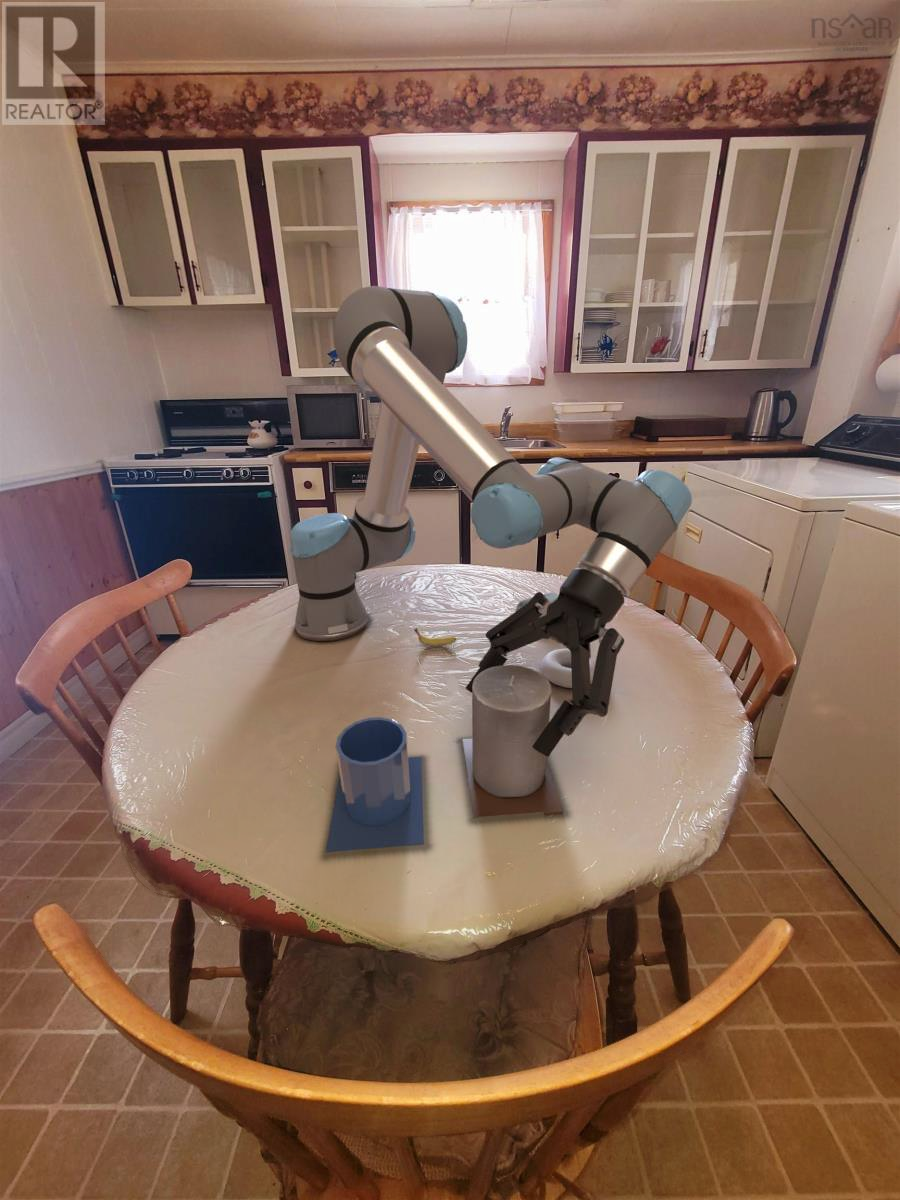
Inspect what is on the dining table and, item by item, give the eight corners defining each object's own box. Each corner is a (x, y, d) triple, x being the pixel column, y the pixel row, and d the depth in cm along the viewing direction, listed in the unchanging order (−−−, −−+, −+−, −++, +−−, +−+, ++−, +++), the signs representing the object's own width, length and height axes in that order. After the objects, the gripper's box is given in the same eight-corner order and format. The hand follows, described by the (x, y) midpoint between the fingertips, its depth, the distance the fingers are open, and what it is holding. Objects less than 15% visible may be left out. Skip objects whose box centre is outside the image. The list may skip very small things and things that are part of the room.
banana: (414, 648, 95) (413, 630, 94) (415, 644, 97) (414, 626, 95) (456, 648, 95) (455, 630, 93) (456, 644, 97) (456, 626, 95)
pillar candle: (502, 736, 71) (504, 647, 64) (560, 769, 64) (568, 675, 58) (456, 773, 64) (454, 678, 58) (515, 813, 58) (520, 712, 52)
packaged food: (581, 619, 105) (583, 599, 103) (537, 633, 100) (538, 611, 98) (555, 605, 112) (556, 585, 110) (513, 617, 107) (513, 597, 105)
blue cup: (349, 777, 64) (340, 719, 60) (411, 772, 65) (406, 715, 61) (341, 829, 57) (331, 767, 53) (411, 823, 57) (406, 761, 53)
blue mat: (342, 764, 67) (341, 762, 67) (421, 759, 68) (421, 756, 67) (326, 855, 54) (325, 852, 54) (424, 846, 55) (423, 843, 55)
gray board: (462, 741, 71) (461, 738, 70) (536, 736, 71) (536, 733, 71) (473, 820, 58) (473, 817, 58) (563, 813, 59) (563, 810, 58)
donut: (539, 690, 82) (600, 694, 80) (540, 672, 81) (602, 677, 79) (541, 659, 91) (596, 662, 89) (542, 643, 89) (598, 646, 87)
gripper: (700, 634, 54) (591, 791, 53) (547, 568, 73) (465, 683, 72) (679, 603, 49) (559, 775, 48) (521, 541, 68) (434, 663, 68)
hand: (503, 720), depth 60 cm, fingers open, 13 cm apart
